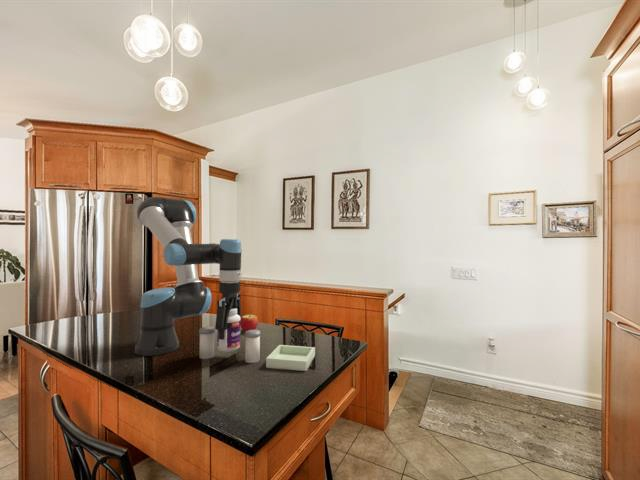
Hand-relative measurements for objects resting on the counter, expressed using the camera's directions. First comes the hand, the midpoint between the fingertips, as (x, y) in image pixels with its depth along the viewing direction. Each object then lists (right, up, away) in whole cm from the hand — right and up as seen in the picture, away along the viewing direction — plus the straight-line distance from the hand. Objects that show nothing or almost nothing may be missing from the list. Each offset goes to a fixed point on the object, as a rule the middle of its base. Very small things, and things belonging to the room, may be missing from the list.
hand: (228, 343), depth 112 cm
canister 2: (+9, -5, -2) cm, 11 cm away
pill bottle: (0, -2, 0) cm, 2 cm away
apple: (0, -6, +33) cm, 34 cm away
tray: (+23, -5, -3) cm, 24 cm away
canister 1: (-8, -5, +1) cm, 10 cm away
